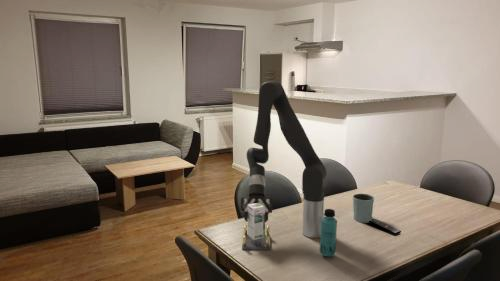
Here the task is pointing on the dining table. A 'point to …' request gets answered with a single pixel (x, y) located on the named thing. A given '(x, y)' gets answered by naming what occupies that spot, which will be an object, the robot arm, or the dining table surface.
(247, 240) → the chassis plate
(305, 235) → the robot arm
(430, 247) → the dining table surface
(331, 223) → the beverage bottle
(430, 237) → the dining table surface
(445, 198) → the dining table surface
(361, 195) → the teal cup
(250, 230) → the syrup box
